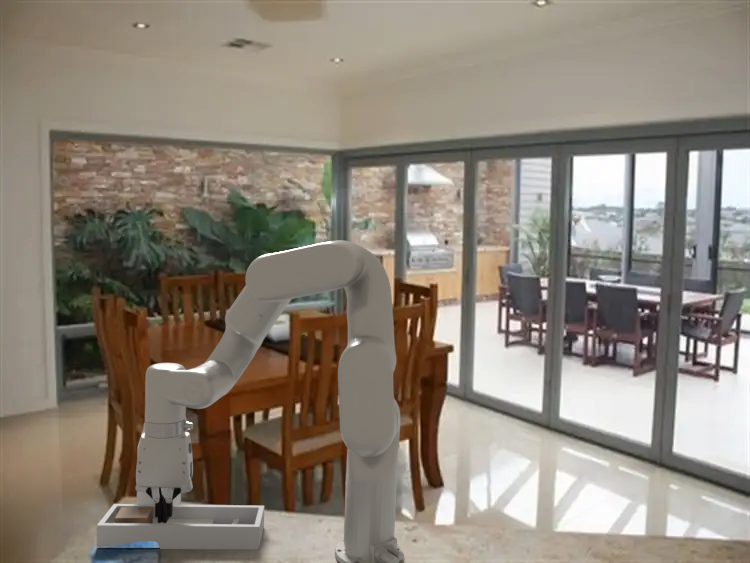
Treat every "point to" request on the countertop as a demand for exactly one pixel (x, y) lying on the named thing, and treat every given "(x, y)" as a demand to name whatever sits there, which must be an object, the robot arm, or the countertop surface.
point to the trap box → (189, 527)
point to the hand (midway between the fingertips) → (163, 520)
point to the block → (135, 515)
